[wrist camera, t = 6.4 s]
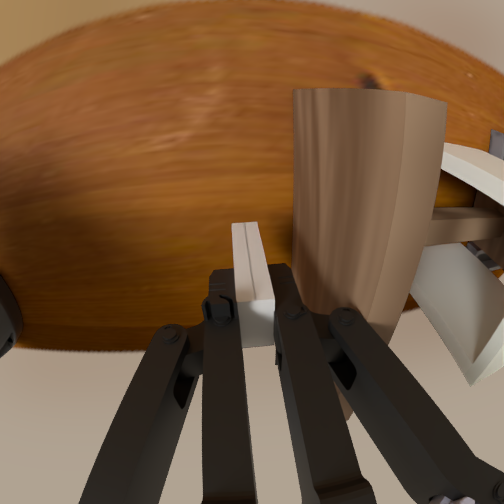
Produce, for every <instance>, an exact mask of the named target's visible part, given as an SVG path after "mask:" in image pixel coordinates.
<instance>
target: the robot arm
mask: <svg viewBox="0 0 504 504" xmlns="http://www.w3.org/2000/svg"><path fill="white" fill-rule="evenodd" d="M232 241H233V258H234V268H232V269H220V270H214V271H213V272H212V274H211V275H210V277H209V296H207V297H206V298H205V299H204V300H203V302H202V305H201V306H202V310H203V315H204V319H205V320H204V321H203V322H202V323H200V324H198V325H196V326H194V327H191V328H188V329H185V328H183V327H182V326H181V325H178V324H168V325H165V326H163V327H161V328H160V329H158V330H157V332H156V333H155V335H154V336H153V338H152V340H151V342H150V344H149V346H148V348H147V350H146V352H145V354H144V356H143V358H142V360H141V362H140V364H139V367H138V369H137V370H136V372H135V374H134V377H133V379H132V381H131V383H130V385H129V387H128V389H127V391H126V393H125V395H124V397H123V400H122V402H121V404H120V406H119V408H118V410H117V413H116V415H115V417H114V419H113V421H112V424H111V426H110V428H109V431H108V433H107V435H106V438H105V439H104V442H103V444H102V446H101V449H100V451H99V453H98V456H97V458H96V461H95V463H94V466H93V468H92V470H91V473H90V475H89V478H88V480H87V483H86V486H85V488H84V490H83V493H82V496H81V498H80V501H79V504H158V503H159V500H160V497H161V494H162V490H163V487H164V484H165V481H166V478H167V475H168V471H169V468H170V465H171V462H172V459H173V455H174V453H175V449H176V446H177V443H178V440H179V437H180V434H181V430H182V428H183V424H184V421H185V418H186V415H187V412H188V409H189V406H190V403H191V400H192V397H193V394H194V391H195V388H196V385H197V381H198V379H199V375H201V374H203V386H202V473H203V501H202V503H201V504H258V499H257V491H256V482H255V473H254V464H253V455H252V445H251V435H250V425H249V416H248V405H247V394H246V384H245V373H244V362H243V352H242V348H249V347H260V346H270V345H274V341H275V346H276V360H275V365H278V370H279V376H280V381H281V386H282V391H283V397H284V402H285V408H286V413H287V419H288V424H289V429H290V434H291V440H292V446H293V451H294V457H295V462H296V468H297V473H298V479H299V484H300V490H301V496H302V504H377V503H376V499H375V495H374V492H373V489H372V486H371V485H370V483H369V481H367V480H366V479H365V478H364V477H363V476H362V474H361V471H360V468H359V464H358V461H357V457H356V454H355V450H354V447H353V443H352V440H351V436H350V433H349V430H348V426H347V423H346V420H345V416H344V413H343V410H342V407H341V403H340V400H339V397H338V394H337V391H336V388H335V384H334V382H335V383H336V385H337V387H338V388H339V390H340V391H341V393H342V394H343V396H344V397H345V399H346V400H347V402H348V403H349V405H350V406H351V408H352V410H353V411H354V413H355V414H356V416H357V417H358V419H359V420H360V422H361V423H362V425H363V426H364V428H365V429H366V431H367V433H368V434H369V435H370V437H371V439H372V440H373V441H374V443H375V445H376V446H377V448H378V449H379V451H380V452H381V454H382V455H383V457H384V459H385V460H386V461H387V463H388V465H389V466H390V468H391V469H392V471H393V472H394V474H395V475H396V477H397V478H398V480H399V481H400V483H401V484H402V486H403V488H404V489H405V490H406V492H407V493H408V494H409V495H410V497H411V498H412V499H413V500H414V501H415V502H416V503H417V504H504V473H503V472H502V471H500V470H498V469H496V468H494V467H493V466H491V465H489V464H487V463H486V462H484V461H482V460H481V459H479V458H477V457H476V456H475V455H474V454H473V453H472V451H471V450H470V448H469V447H468V446H467V444H466V443H465V441H464V440H463V439H462V437H461V436H460V435H459V433H458V432H457V431H456V429H455V428H454V427H453V426H452V424H451V423H450V422H449V420H448V419H447V418H446V416H445V415H444V414H443V413H442V411H441V410H440V409H439V407H438V406H437V405H436V404H435V402H434V401H433V400H432V399H431V397H430V396H429V395H428V394H427V393H426V391H425V390H424V389H423V387H422V386H421V385H420V384H419V383H418V381H417V380H416V379H415V378H414V376H413V375H412V374H411V373H410V372H409V370H408V369H407V368H406V367H405V366H404V364H403V363H402V362H401V361H400V360H399V358H398V357H397V356H396V355H395V354H394V353H393V351H392V350H391V349H390V348H389V347H388V345H387V344H386V343H385V342H384V341H383V340H382V338H381V337H380V336H379V335H378V334H377V333H376V332H375V330H374V329H373V328H372V327H371V326H370V325H369V323H368V322H367V321H366V320H365V319H364V318H363V317H362V316H361V314H360V313H359V312H357V311H356V310H355V309H352V308H349V307H340V308H336V309H335V310H333V311H332V312H331V314H330V315H325V314H318V313H314V312H312V311H310V310H309V309H308V307H307V306H306V305H304V304H303V302H302V299H301V296H300V294H299V291H298V288H297V285H296V283H295V279H294V277H293V273H292V270H291V268H289V267H288V266H287V265H286V264H285V263H282V264H271V265H267V263H266V258H265V254H264V250H263V246H262V242H261V237H260V233H259V229H258V225H257V222H246V223H233V224H232ZM22 329H23V321H22V316H21V312H20V309H19V307H18V305H17V302H16V300H15V298H14V296H13V294H12V293H11V291H10V289H9V288H8V286H7V285H6V283H5V282H4V280H3V279H2V277H1V276H0V358H1V357H2V356H3V355H4V354H6V353H7V352H8V351H9V350H10V349H11V348H12V347H13V346H14V345H15V344H16V342H17V340H18V338H19V336H20V334H21V332H22ZM333 380H334V381H333Z"/></svg>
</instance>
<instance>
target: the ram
mask: <svg viewBox="0 0 504 504" xmlns="http://www.w3.org/2000/svg"><path fill="white" fill-rule="evenodd" d="M293 115H294V201H293V241H292V268H291V270H292V273H293V277H294V279H295V283H296V285H297V288H298V291H299V294H300V296H301V299H302V302H303V304H304V305H306V306H307V307H308V309H309V310H310V311H312V312H314V313H318V314H325V315H330V314H331V312H332V311H333V310H335V309H336V308H340V307H349V308H352V309H355V310H356V311H357V312H359V313H360V314H361V316H362V317H363V318H364V319H365V320H366V321H367V322H368V323H369V325H370V326H371V327H372V328H373V329H374V330H375V332H376V333H377V334H378V335H379V336H380V337H381V338H382V340H383V341H384V342H385V343H386V344H387V345H388V344H389V342H390V340H391V337H392V335H393V333H394V330H395V328H396V326H397V323H398V321H399V318H400V316H401V313H402V311H403V308H404V306H405V303H406V300H407V297H408V295H409V292H410V289H411V286H412V283H413V280H414V277H415V274H416V271H417V268H418V265H419V262H420V259H421V255H422V252H423V248H424V246H429V245H438V244H447V243H456V242H464V241H472V242H474V243H475V244H476V245H477V246H478V247H479V248H480V249H481V250H483V251H484V252H485V253H486V254H487V255H488V256H489V257H490V258H491V259H492V260H493V261H494V262H495V263H497V264H498V265H499V266H500V267H501V268H502V269H503V270H504V206H503V205H501V204H500V203H498V202H497V201H495V200H494V199H492V198H491V197H489V196H488V195H486V194H484V193H483V192H481V191H480V190H478V189H477V194H476V198H475V202H474V206H473V207H449V208H434V204H435V199H436V194H437V189H438V183H439V177H440V171H441V165H442V158H443V150H444V141H445V131H446V118H447V102H443V101H440V100H436V99H432V98H428V97H425V96H420V95H416V94H412V93H407V92H400V91H389V90H375V89H353V88H315V89H293ZM333 381H334V380H333ZM334 384H335V388H336V391H337V394H338V397H339V400H340V403H341V407H342V410H343V413H344V416H345V420H346V421H347V420H349V418H350V416H351V414H352V413H353V410H352V408H351V406H350V405H349V403H348V402H347V400H346V399H345V397H344V396H343V394H342V393H341V391H340V390H339V388H338V387H337V385H336V383H335V382H334Z"/></svg>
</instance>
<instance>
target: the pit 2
mask: <svg viewBox="0 0 504 504" xmlns="http://www.w3.org/2000/svg"><path fill="white" fill-rule="evenodd" d="M489 154H491V155H493V156H495V157H497V158H499V159H502V160H504V134H503V133H500V132H498V131H495V130H492V129H491V139H490V147H489Z"/></svg>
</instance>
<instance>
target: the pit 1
mask: <svg viewBox="0 0 504 504" xmlns="http://www.w3.org/2000/svg"><path fill="white" fill-rule="evenodd" d="M466 248H467V249H468V250H469V251H470V252H471V253H472V254H473V255H474V256H475V257H477V258H478V259H479V260H480V261H481V262H482V263H483V264H484V265H485V266H486V267H487V268H488V269H489V270H490V271H493V270H497V269H500V268H501V267H500V266H499V265H498V264H497V263H495V262H494V261H493V260H492V259H491V258H490V257H489V256H488V255H487V254H486V253H485V252H484V251H483V250H481V249H480V248H479V247H478V246H477V245H476V244H475V243H474V242H468V243H467V246H466Z"/></svg>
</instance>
